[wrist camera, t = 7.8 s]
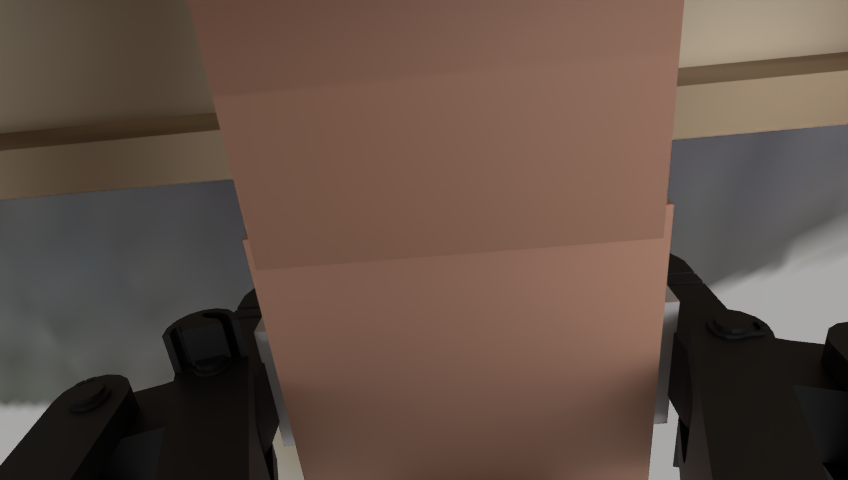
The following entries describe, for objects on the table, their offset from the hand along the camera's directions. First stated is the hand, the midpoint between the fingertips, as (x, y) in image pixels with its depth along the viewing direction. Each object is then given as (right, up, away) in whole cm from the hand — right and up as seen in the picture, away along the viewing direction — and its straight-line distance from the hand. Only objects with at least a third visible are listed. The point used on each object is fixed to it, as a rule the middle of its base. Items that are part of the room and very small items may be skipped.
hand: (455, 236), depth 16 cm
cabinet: (0, +2, 0) cm, 2 cm away
